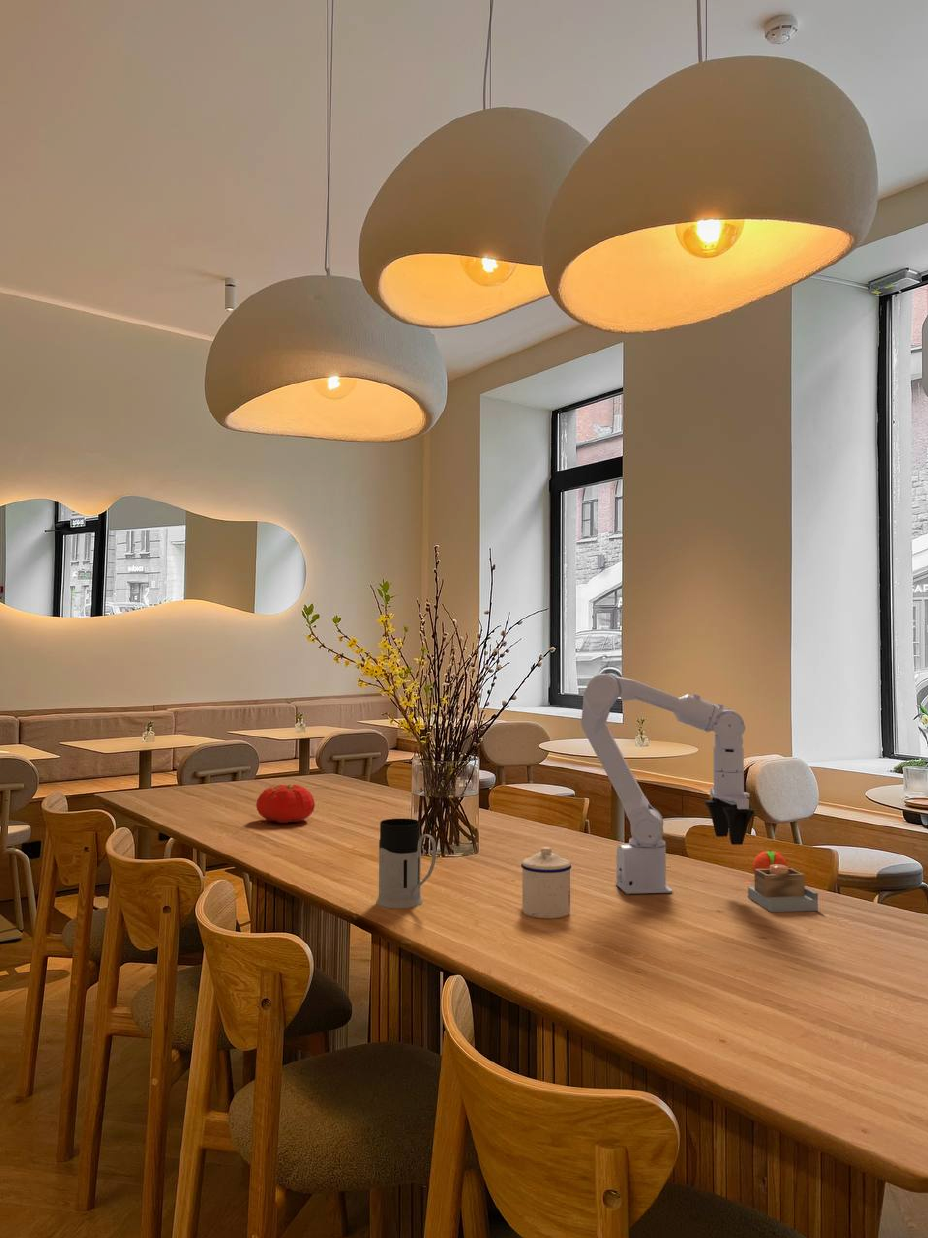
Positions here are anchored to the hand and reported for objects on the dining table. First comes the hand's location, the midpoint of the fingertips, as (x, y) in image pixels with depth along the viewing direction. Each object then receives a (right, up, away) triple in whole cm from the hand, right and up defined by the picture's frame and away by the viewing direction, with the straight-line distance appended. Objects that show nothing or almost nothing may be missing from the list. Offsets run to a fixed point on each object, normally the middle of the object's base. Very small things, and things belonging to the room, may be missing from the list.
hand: (729, 840), depth 179 cm
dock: (+8, -10, -8) cm, 15 cm away
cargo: (+7, -5, -8) cm, 12 cm away
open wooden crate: (+7, -8, -8) cm, 13 cm away
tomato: (-102, -13, +74) cm, 126 cm away
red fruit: (+10, -11, +6) cm, 16 cm away
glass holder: (-62, -10, -9) cm, 64 cm away
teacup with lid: (-38, -10, -13) cm, 41 cm away
